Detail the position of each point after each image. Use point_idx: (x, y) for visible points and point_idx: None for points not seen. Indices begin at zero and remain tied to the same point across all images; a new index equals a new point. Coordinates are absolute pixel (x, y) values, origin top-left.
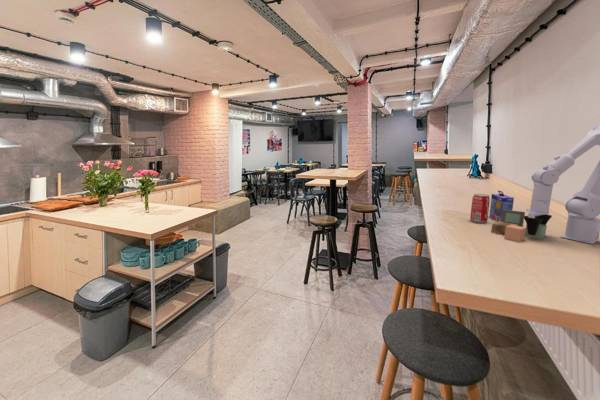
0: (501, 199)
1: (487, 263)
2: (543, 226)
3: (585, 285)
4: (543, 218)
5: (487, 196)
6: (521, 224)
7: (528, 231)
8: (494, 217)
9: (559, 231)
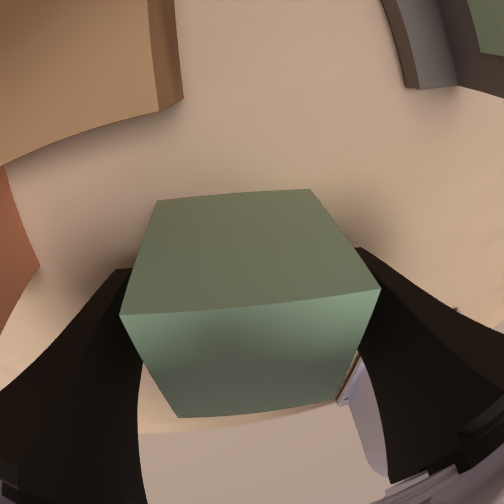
0: None
1: None
2: (234, 414)
3: None
4: (405, 432)
5: None
6: (481, 76)
7: (103, 292)
8: None
9: (500, 264)
